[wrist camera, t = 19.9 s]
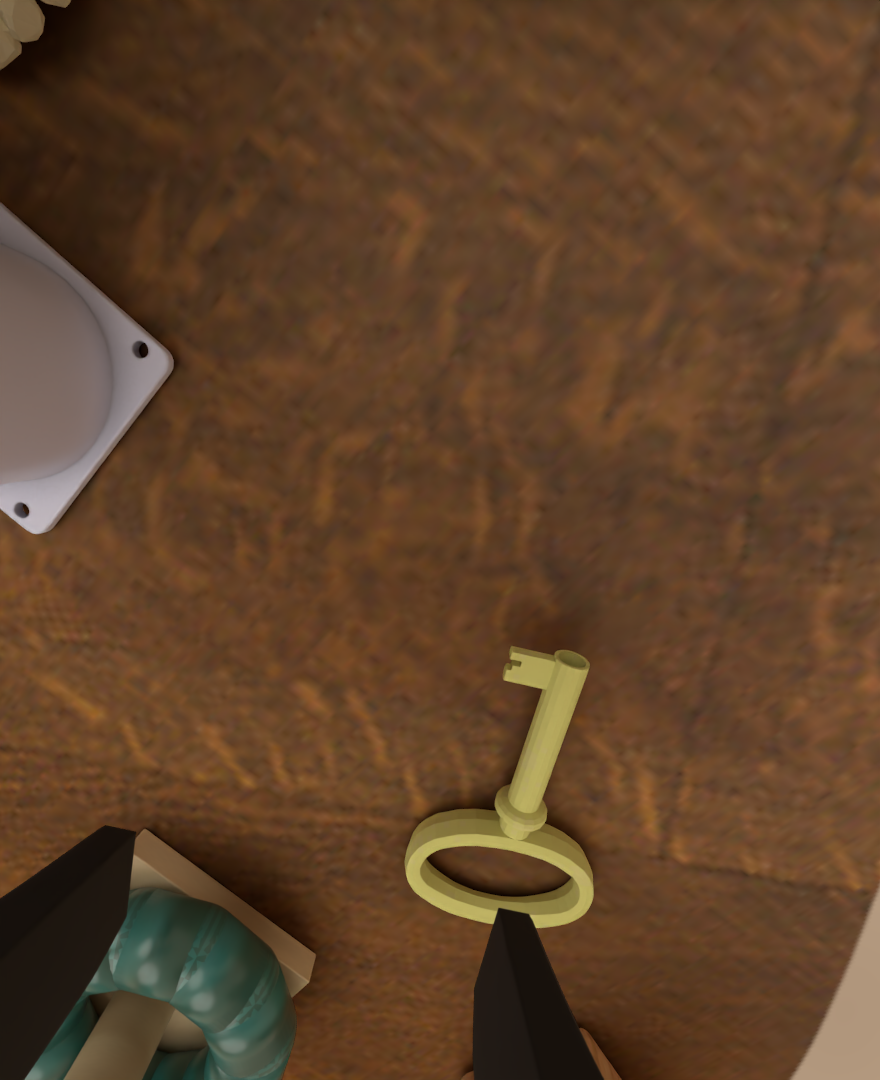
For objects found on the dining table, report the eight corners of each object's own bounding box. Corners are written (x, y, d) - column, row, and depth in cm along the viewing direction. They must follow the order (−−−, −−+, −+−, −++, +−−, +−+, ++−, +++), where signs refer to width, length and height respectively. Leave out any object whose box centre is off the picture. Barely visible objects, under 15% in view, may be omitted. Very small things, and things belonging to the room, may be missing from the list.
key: (579, 624, 20) (593, 649, 18) (590, 907, 22) (604, 958, 20) (379, 639, 20) (370, 665, 18) (414, 915, 23) (410, 966, 21)
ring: (-21, 973, 23) (-93, 1056, 20) (152, 819, 21) (101, 887, 18) (180, 1125, 24) (142, 1224, 21) (358, 996, 22) (343, 1084, 19)
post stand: (25, 956, 24) (-139, 1162, 17) (145, 827, 22) (14, 1000, 16) (190, 1068, 25) (97, 1301, 18) (316, 954, 23) (262, 1164, 17)
